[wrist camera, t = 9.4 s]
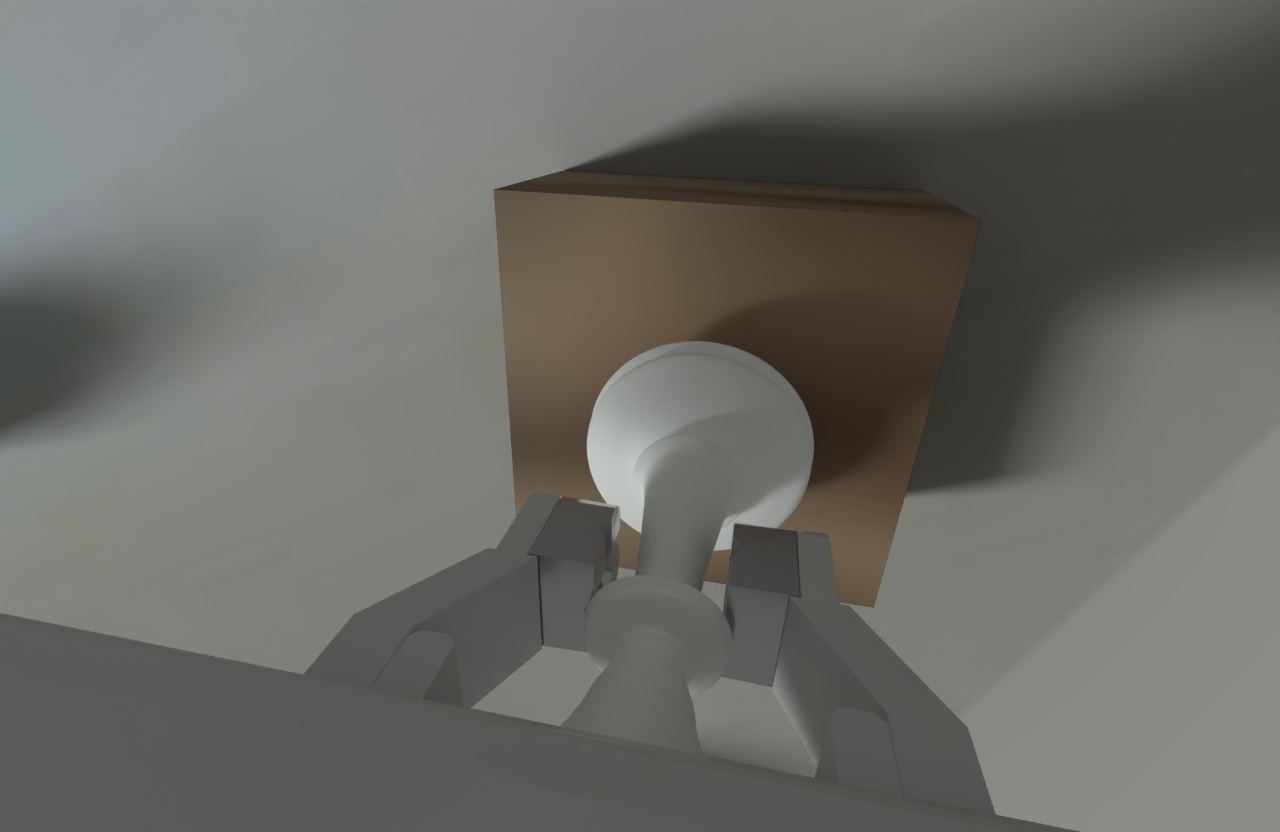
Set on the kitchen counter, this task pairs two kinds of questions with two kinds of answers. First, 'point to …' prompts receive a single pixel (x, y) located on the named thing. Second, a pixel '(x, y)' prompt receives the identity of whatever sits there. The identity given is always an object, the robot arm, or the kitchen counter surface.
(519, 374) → the walnut block
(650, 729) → the chess piece
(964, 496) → the kitchen counter surface
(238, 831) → the robot arm
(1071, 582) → the kitchen counter surface
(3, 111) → the kitchen counter surface
